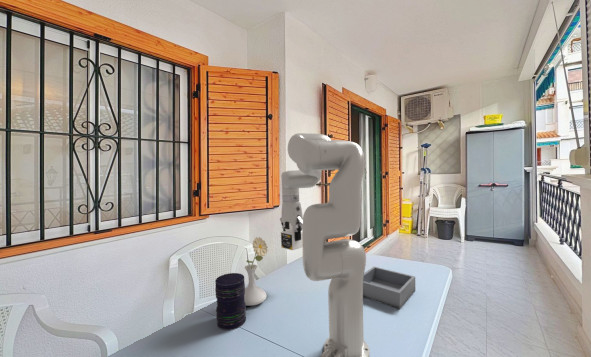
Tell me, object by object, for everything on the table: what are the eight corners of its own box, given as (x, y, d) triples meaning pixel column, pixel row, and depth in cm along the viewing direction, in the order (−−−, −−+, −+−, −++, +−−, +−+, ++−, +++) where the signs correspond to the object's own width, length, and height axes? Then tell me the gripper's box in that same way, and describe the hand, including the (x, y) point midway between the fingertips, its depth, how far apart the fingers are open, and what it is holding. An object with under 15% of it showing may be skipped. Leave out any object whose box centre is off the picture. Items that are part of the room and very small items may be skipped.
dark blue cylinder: (211, 329, 85) (209, 284, 84) (223, 312, 94) (222, 272, 94) (240, 331, 83) (238, 285, 83) (250, 314, 93) (248, 273, 92)
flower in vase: (246, 312, 94) (244, 244, 93) (232, 300, 103) (230, 238, 102) (275, 300, 102) (273, 237, 101) (260, 290, 111) (258, 232, 110)
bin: (399, 309, 93) (399, 293, 93) (355, 294, 105) (354, 279, 105) (415, 290, 107) (415, 276, 107) (374, 279, 119) (373, 266, 118)
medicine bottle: (281, 247, 114) (280, 220, 114) (292, 244, 120) (291, 218, 119) (292, 250, 109) (291, 222, 109) (303, 247, 114) (302, 220, 114)
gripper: (310, 199, 110) (311, 240, 110) (285, 197, 123) (287, 234, 124) (296, 201, 105) (297, 244, 105) (272, 198, 119) (274, 237, 119)
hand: (292, 238), depth 114 cm, fingers closed on medicine bottle, 7 cm apart
